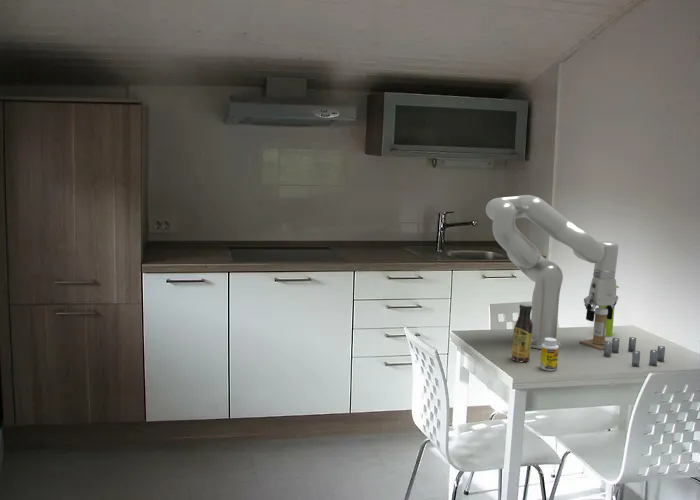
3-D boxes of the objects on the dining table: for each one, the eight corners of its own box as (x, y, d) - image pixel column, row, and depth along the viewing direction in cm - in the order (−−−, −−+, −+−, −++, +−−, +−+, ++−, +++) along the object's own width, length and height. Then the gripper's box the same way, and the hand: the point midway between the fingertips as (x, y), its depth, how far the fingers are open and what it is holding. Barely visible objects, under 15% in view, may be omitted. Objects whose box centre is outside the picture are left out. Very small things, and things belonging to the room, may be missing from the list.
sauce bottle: (507, 359, 243) (511, 303, 240) (519, 356, 247) (522, 301, 244) (522, 364, 238) (526, 307, 235) (534, 360, 242) (538, 305, 239)
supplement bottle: (544, 371, 231) (547, 341, 229) (536, 366, 236) (538, 337, 234) (560, 370, 232) (562, 341, 230) (551, 365, 237) (553, 336, 236)
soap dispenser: (616, 336, 274) (621, 286, 271) (599, 336, 274) (603, 286, 271) (611, 332, 280) (615, 283, 277) (594, 332, 280) (598, 283, 277)
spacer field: (640, 369, 236) (642, 354, 235) (597, 353, 251) (598, 340, 251) (670, 362, 243) (671, 348, 242) (626, 348, 259) (627, 335, 258)
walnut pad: (600, 350, 256) (600, 348, 256) (579, 342, 265) (579, 341, 265) (619, 346, 261) (619, 345, 261) (597, 339, 269) (597, 338, 269)
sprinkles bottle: (607, 344, 262) (610, 309, 260) (599, 345, 259) (602, 310, 257) (597, 340, 266) (600, 306, 264) (589, 342, 263) (592, 307, 261)
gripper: (596, 277, 251) (590, 324, 254) (628, 275, 260) (622, 320, 262) (579, 273, 257) (574, 318, 260) (612, 271, 266) (606, 315, 269)
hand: (598, 319), depth 261 cm, fingers open, 9 cm apart
